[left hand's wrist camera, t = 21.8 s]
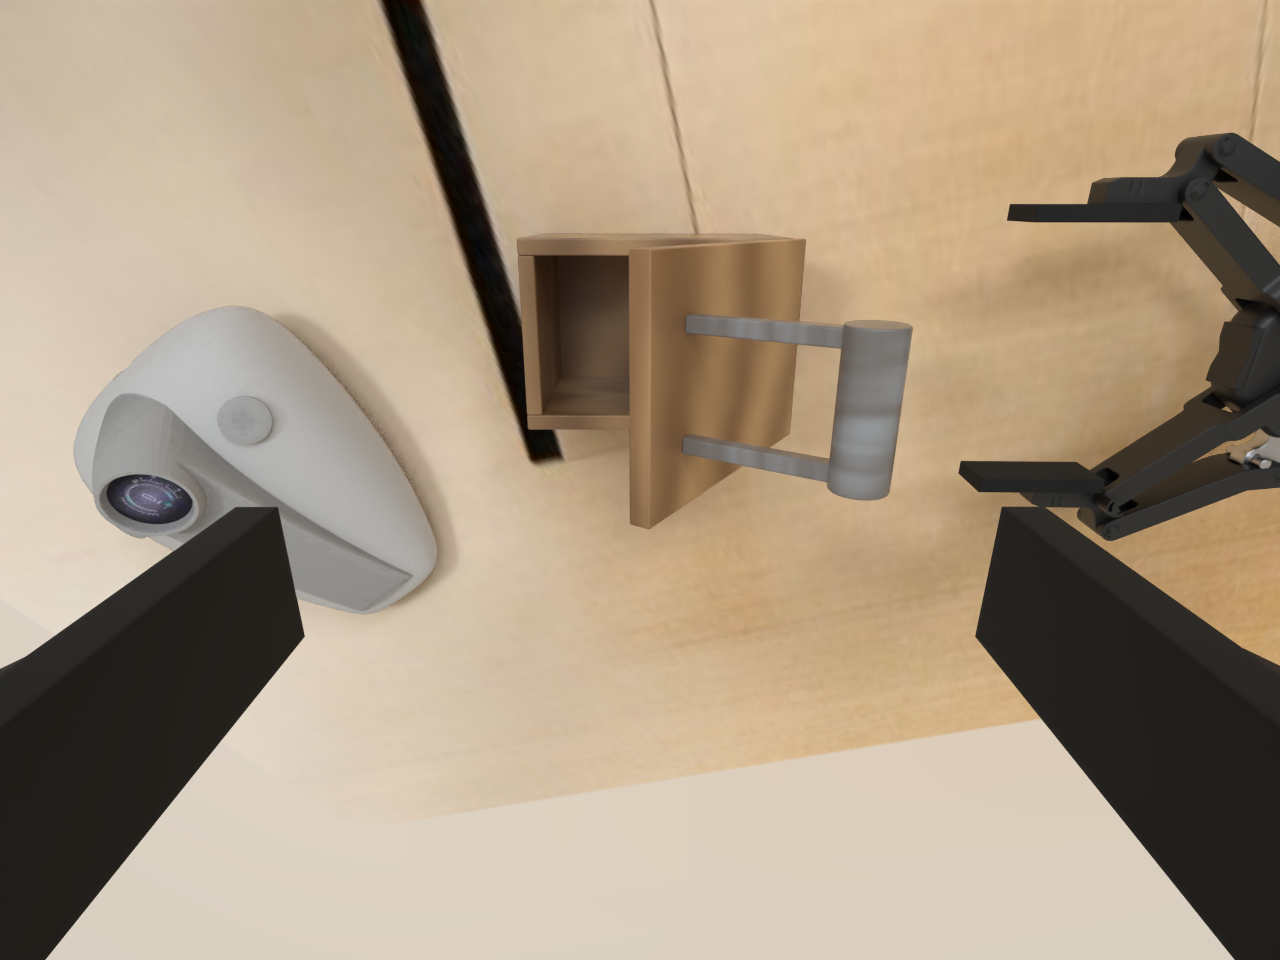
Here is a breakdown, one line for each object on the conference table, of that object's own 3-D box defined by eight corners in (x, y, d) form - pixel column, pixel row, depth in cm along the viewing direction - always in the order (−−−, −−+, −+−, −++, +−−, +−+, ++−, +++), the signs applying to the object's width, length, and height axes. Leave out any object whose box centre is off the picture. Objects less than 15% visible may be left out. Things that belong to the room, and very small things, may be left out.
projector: (166, 579, 55) (8, 699, 41) (114, 284, 47) (-104, 312, 33) (443, 601, 55) (379, 726, 42) (439, 314, 47) (358, 354, 34)
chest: (551, 385, 49) (528, 429, 39) (544, 233, 46) (516, 238, 35) (751, 385, 49) (780, 430, 39) (760, 233, 46) (795, 238, 35)
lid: (629, 524, 27) (858, 586, 22) (627, 248, 23) (901, 256, 19) (774, 431, 39) (943, 459, 34) (789, 238, 35) (980, 241, 31)
